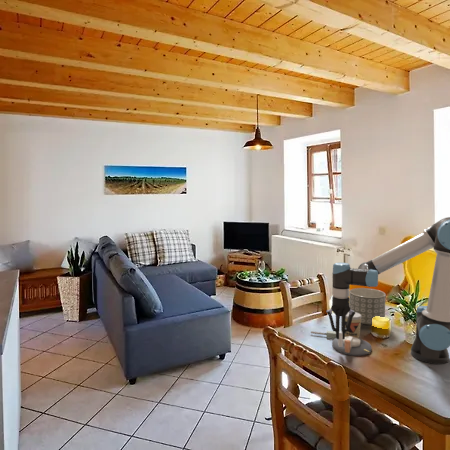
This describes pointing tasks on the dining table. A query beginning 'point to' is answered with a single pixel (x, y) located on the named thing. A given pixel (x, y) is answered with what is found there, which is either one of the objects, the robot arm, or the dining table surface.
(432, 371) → the dining table surface
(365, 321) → the planter
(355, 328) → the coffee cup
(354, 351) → the dark grey round plate
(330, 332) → the screwdriver
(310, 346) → the dining table surface
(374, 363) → the dining table surface
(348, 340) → the cream rounded piece
